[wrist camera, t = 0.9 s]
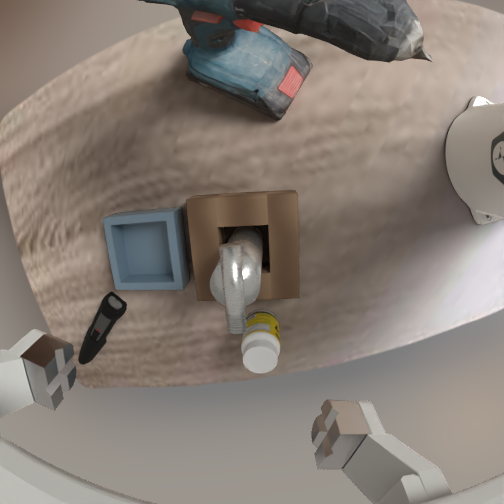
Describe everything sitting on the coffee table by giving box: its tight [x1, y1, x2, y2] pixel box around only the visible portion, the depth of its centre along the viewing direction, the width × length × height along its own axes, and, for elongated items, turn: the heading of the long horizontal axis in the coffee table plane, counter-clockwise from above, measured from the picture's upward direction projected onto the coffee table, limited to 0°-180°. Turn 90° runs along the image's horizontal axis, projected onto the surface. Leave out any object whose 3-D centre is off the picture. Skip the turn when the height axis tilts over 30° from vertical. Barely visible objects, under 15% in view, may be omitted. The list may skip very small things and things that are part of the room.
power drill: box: [139, 0, 433, 120], centre depth 19 cm, size 9×23×25 cm, turn 61°
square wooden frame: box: [186, 190, 299, 301], centre depth 35 cm, size 12×12×4 cm
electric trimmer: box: [79, 292, 127, 364], centre depth 42 cm, size 4×16×3 cm, turn 141°
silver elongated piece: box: [210, 226, 263, 334], centre depth 30 cm, size 4×7×16 cm, turn 3°
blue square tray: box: [103, 207, 190, 290], centre depth 36 cm, size 10×10×4 cm
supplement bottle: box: [241, 310, 280, 374], centre depth 36 cm, size 5×5×8 cm
